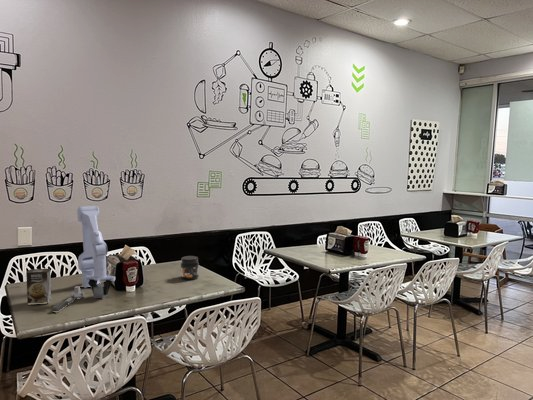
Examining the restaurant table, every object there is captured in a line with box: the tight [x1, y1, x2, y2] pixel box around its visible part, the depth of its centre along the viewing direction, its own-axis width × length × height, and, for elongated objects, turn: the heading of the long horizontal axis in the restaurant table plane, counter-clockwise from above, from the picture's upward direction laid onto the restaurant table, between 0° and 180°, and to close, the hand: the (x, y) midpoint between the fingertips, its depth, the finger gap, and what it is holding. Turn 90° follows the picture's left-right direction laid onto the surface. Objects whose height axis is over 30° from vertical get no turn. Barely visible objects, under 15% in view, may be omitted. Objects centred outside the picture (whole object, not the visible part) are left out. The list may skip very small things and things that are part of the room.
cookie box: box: [25, 268, 52, 303], centre depth 196 cm, size 9×6×16 cm
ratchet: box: [51, 285, 85, 312], centre depth 196 cm, size 23×6×6 cm, turn 176°
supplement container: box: [180, 255, 200, 281], centre depth 240 cm, size 10×10×12 cm
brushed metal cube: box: [92, 283, 109, 299], centre depth 206 cm, size 5×5×6 cm
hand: (100, 294), depth 206 cm, fingers open, 5 cm apart
